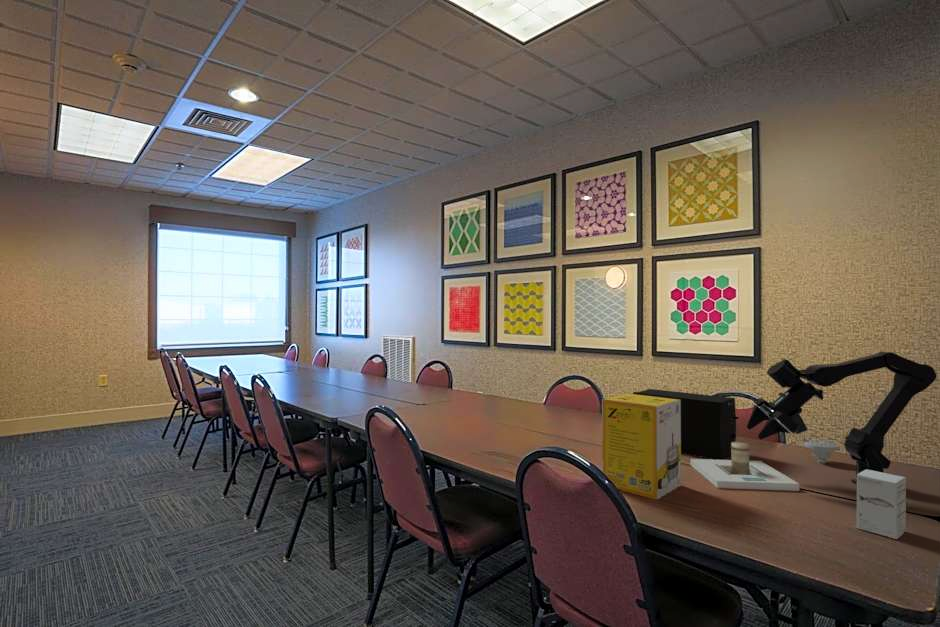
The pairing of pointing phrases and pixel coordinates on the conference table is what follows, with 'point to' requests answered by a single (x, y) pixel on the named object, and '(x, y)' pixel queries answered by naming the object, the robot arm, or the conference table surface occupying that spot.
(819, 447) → the showerhead
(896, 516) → the supplement box
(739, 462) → the beech peg
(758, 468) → the hole plate
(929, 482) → the conference table surface
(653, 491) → the packaging box
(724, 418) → the uninterruptible power supply
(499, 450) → the conference table surface
